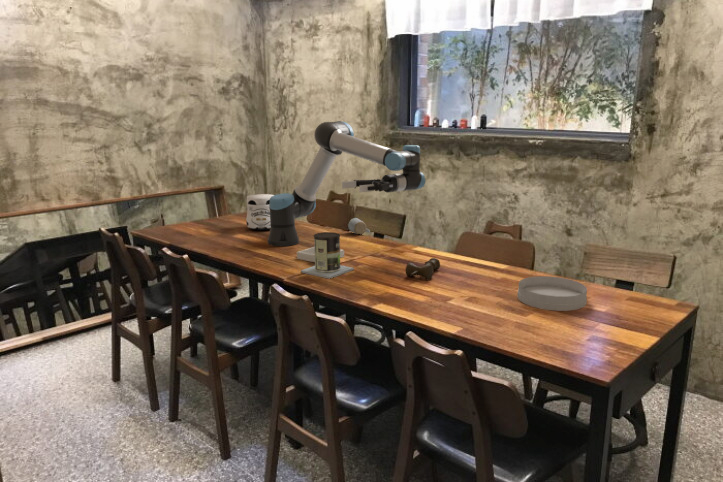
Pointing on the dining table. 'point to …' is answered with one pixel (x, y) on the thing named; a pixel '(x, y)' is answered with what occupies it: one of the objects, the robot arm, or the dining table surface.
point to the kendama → (423, 269)
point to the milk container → (258, 212)
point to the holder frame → (311, 254)
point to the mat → (330, 274)
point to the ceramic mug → (357, 226)
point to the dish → (552, 293)
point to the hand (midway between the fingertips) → (350, 187)
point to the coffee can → (327, 252)
